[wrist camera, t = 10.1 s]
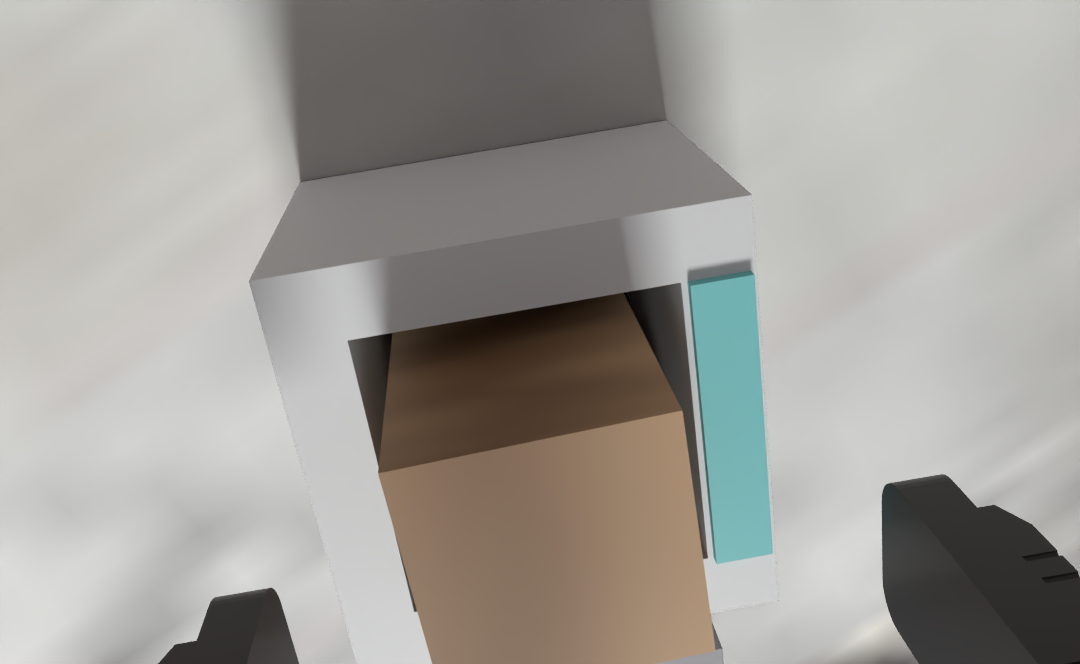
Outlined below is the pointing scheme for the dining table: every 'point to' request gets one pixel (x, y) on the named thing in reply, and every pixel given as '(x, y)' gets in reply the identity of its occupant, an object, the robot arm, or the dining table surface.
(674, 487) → the block
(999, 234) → the dining table surface
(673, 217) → the white microwave oven
